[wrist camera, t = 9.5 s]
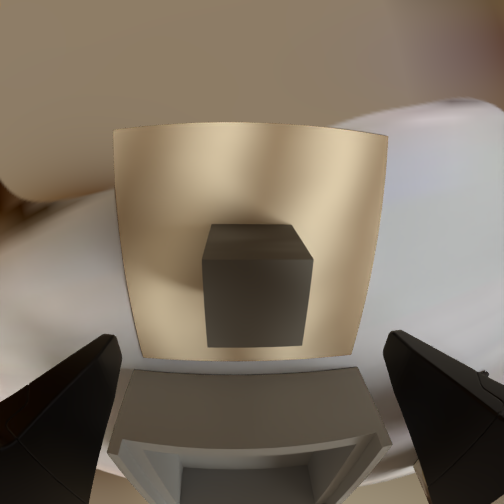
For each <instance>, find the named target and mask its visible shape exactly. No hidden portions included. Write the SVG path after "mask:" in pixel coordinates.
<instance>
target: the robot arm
mask: <svg viewBox="0 0 504 504" xmlns="http://www.w3.org/2000/svg"><path fill="white" fill-rule="evenodd" d="M383 356H384V360H385V363H386V366H387V370H388V373H389V377H390V380H391V384H392V387H393V391H394V393H395V396H396V399H397V401H398V404H399V406H400V409H401V412H402V414H403V417H404V419H405V422H406V425H407V428H408V430H409V433H410V436H411V439H412V442H413V444H414V447H415V450H416V453H417V456H418V459H419V462H420V465H421V468H422V471H423V475H424V478H425V481H426V484H427V487H428V492H429V495H430V499H431V502H432V504H504V385H503V384H501V383H498V382H496V381H494V380H492V379H490V378H489V377H488V375H489V373H488V372H487V371H486V372H484V373H479V372H477V371H476V370H474V369H472V368H470V367H468V366H466V365H465V364H463V363H461V362H459V361H457V360H455V359H454V358H452V357H450V356H448V355H446V354H444V353H443V352H441V351H439V350H437V349H435V348H433V347H432V346H430V345H428V344H426V343H424V342H422V341H421V340H419V339H417V338H415V337H413V336H411V335H410V334H408V333H406V332H404V331H402V330H395V331H391V332H390V333H389V335H388V338H387V341H386V344H385V346H384V349H383ZM121 362H122V354H121V351H120V347H119V344H118V341H117V338H116V336H115V335H111V334H103V335H101V336H99V337H98V338H96V339H95V340H93V341H92V342H90V343H89V344H87V345H86V346H84V347H83V348H81V349H80V350H78V351H77V352H75V353H74V354H72V355H71V356H69V357H68V358H66V359H65V360H63V361H62V362H60V363H59V364H57V365H56V366H54V367H53V368H52V369H50V370H49V371H47V372H46V373H44V374H43V375H41V376H40V377H38V378H37V379H35V380H34V381H32V382H31V383H29V385H26V386H25V387H23V388H22V389H20V390H19V391H17V392H16V393H14V394H13V395H11V396H10V397H8V398H6V399H5V400H3V401H1V402H0V504H89V499H90V494H91V489H92V484H93V480H94V475H95V470H96V466H97V462H98V458H99V454H100V450H101V446H102V442H103V438H104V434H105V430H106V427H107V423H108V420H109V416H110V413H111V409H112V406H113V402H114V398H115V393H116V388H117V382H118V377H119V372H120V367H121Z"/></svg>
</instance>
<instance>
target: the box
mask: <svg viewBox="0 0 504 504" xmlns="http://www.w3.org/2000/svg"><path fill="white" fill-rule="evenodd" d="M392 445H393V444H392V442H391V440H390V437H389V435H388V433H387V430H386V428H385V426H384V424H383V421H382V419H381V417H380V415H379V412H378V410H377V408H376V406H375V404H374V401H373V399H372V397H371V395H370V393H369V390H368V388H367V386H366V384H365V382H364V380H363V378H362V375H361V373H360V371H359V369H358V367H353V368H345V369H337V370H327V371H316V372H304V373H289V374H267V375H201V374H180V373H165V372H152V371H142V370H134V371H133V373H132V376H131V379H130V382H129V385H128V388H127V391H126V393H125V396H124V399H123V402H122V405H121V408H120V411H119V414H118V417H117V421H116V424H115V427H114V430H113V433H112V437H111V440H110V443H109V447H108V450H107V454H108V455H109V457H110V458H111V459H112V460H113V462H114V463H115V464H116V466H117V467H118V468H119V469H120V471H121V472H122V473H123V474H124V476H125V477H126V478H127V479H128V480H129V482H130V483H131V484H132V485H133V486H134V487H135V489H136V490H137V491H138V492H139V493H140V494H141V495H142V496H143V497H144V498H145V500H146V501H147V502H148V503H149V504H342V503H343V502H344V501H345V500H346V498H348V497H349V496H350V494H351V493H352V492H353V491H354V490H355V489H356V488H357V487H358V486H359V485H360V484H361V483H362V482H363V480H364V479H365V478H366V477H367V476H368V475H369V474H370V472H371V471H372V470H373V469H374V468H375V466H376V465H377V464H378V463H379V462H380V460H381V459H382V458H383V457H384V455H385V454H386V453H387V451H388V450H389V449H390V447H391V446H392Z"/></svg>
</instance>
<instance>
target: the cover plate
mask: <svg viewBox="0 0 504 504" xmlns="http://www.w3.org/2000/svg"><path fill="white" fill-rule="evenodd" d="M387 148H388V136H382V135H377V134H371V133H364V132H358V131H351V130H343V129H335V128H326V127H317V126H305V125H293V124H276V123H248V122H208V123H182V124H166V125H154V126H143V127H133V128H125V129H117V130H113V152H114V177H115V193H116V205H117V216H118V225H119V234H120V242H121V249H122V256H123V263H124V269H125V275H126V281H127V287H128V292H129V297H130V303H131V307H132V312H133V317H134V321H135V326H136V330H137V335H138V339H139V343H140V347H141V351H142V355H143V357H144V358H157V359H172V360H193V361H272V360H293V359H309V358H321V357H332V356H342V355H351V353H352V350H353V346H354V343H355V339H356V336H357V332H358V328H359V324H360V320H361V316H362V312H363V308H364V304H365V299H366V295H367V291H368V286H369V281H370V276H371V271H372V266H373V261H374V255H375V250H376V244H377V238H378V232H379V225H380V218H381V210H382V203H383V194H384V185H385V175H386V163H387Z"/></svg>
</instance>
